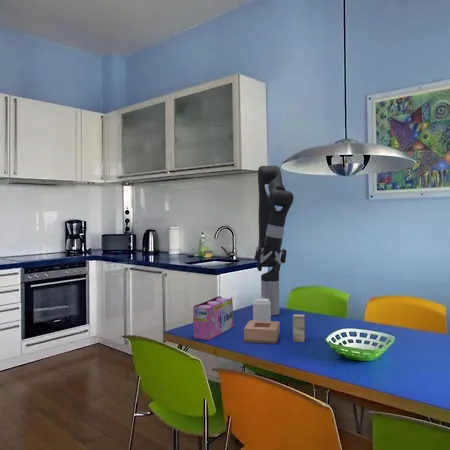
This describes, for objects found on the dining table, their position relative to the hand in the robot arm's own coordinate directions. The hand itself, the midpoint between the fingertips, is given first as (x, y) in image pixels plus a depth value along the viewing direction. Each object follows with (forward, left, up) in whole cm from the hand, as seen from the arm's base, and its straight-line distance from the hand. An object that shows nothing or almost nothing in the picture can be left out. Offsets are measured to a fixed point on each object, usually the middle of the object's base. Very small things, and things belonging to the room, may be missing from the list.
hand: (268, 271), depth 188 cm
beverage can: (-7, -4, -26) cm, 28 cm away
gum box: (+7, -23, -27) cm, 36 cm away
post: (+12, +14, -26) cm, 32 cm away
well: (+12, -1, -26) cm, 29 cm away
